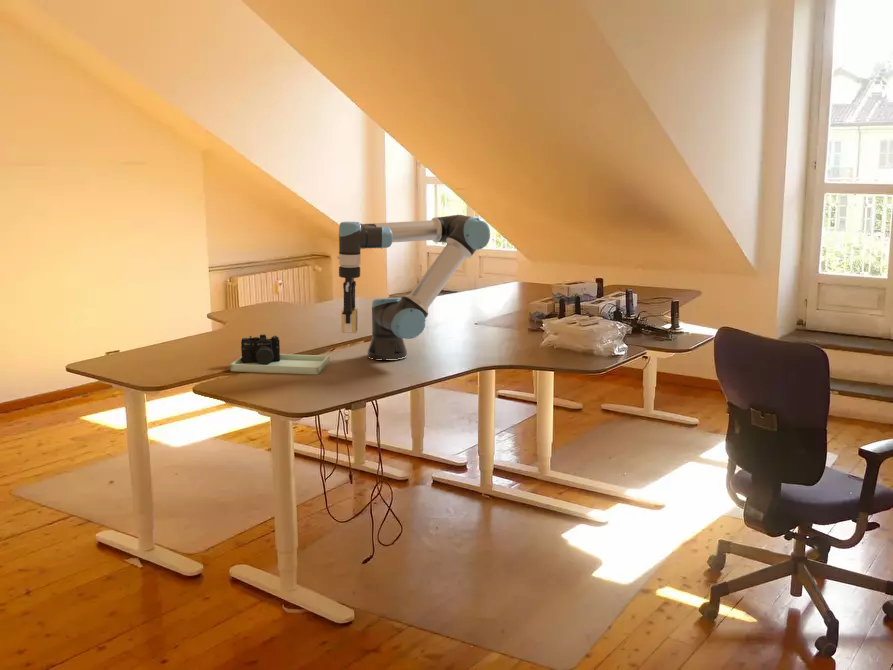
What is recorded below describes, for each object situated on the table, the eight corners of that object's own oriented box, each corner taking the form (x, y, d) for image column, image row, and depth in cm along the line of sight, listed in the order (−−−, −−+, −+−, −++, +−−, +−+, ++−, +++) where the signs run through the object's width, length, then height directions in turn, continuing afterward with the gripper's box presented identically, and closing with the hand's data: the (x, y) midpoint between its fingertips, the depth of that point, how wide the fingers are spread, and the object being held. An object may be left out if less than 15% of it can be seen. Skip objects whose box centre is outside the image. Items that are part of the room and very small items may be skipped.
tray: (246, 359, 334) (246, 352, 333) (329, 362, 331) (329, 355, 330) (230, 371, 316) (230, 364, 315) (318, 374, 313) (318, 367, 313)
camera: (241, 367, 318) (240, 340, 316) (241, 360, 328) (240, 334, 326) (280, 366, 321) (280, 339, 319) (279, 359, 331) (279, 333, 329)
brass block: (343, 329, 318) (343, 308, 317) (357, 330, 318) (357, 308, 317) (341, 332, 313) (341, 310, 312) (355, 333, 313) (355, 310, 312)
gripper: (342, 262, 320) (342, 325, 325) (335, 268, 302) (335, 335, 307) (363, 263, 320) (363, 325, 324) (356, 269, 302) (356, 336, 307)
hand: (349, 330), depth 316 cm, fingers closed on brass block, 5 cm apart
